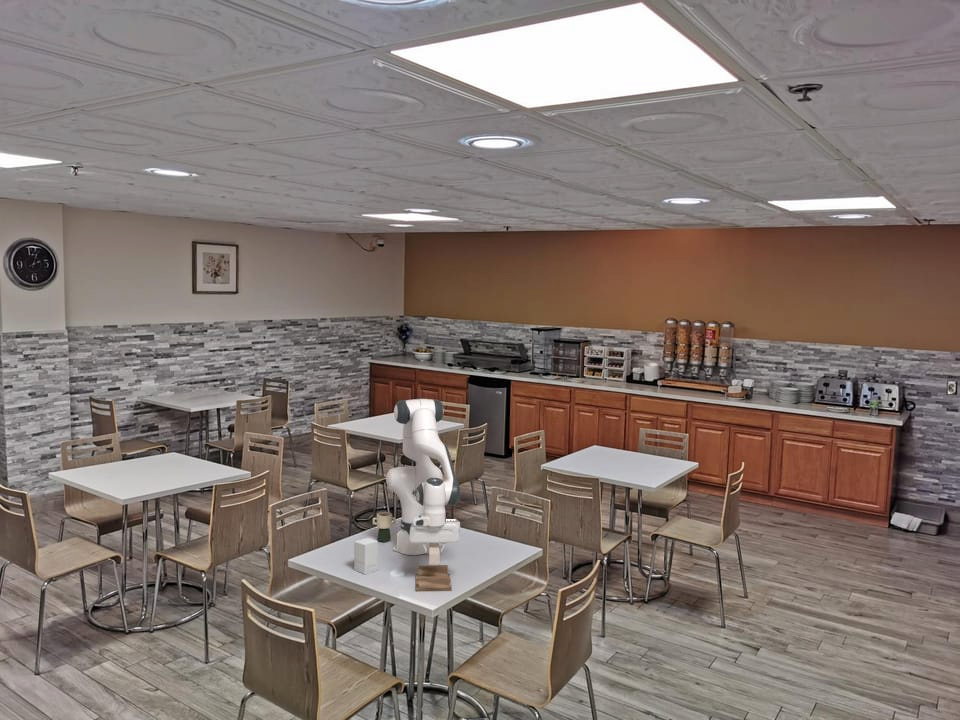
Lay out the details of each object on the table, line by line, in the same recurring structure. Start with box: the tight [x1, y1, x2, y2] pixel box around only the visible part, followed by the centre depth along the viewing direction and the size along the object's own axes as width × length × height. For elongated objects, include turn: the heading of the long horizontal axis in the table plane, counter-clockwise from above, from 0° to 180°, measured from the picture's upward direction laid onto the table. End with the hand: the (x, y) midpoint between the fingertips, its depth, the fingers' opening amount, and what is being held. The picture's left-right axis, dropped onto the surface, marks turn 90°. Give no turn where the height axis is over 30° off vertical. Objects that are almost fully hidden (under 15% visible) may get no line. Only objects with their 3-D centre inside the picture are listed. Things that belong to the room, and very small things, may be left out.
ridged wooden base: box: [415, 564, 453, 592], centre depth 287 cm, size 15×14×5 cm
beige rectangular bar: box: [428, 543, 441, 565], centre depth 286 cm, size 16×4×4 cm, turn 5°
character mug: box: [372, 511, 397, 542], centre depth 338 cm, size 11×7×13 cm, turn 97°
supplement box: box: [353, 537, 379, 575], centre depth 300 cm, size 7×7×13 cm
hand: (433, 552), depth 286 cm, fingers closed on beige rectangular bar, 4 cm apart
